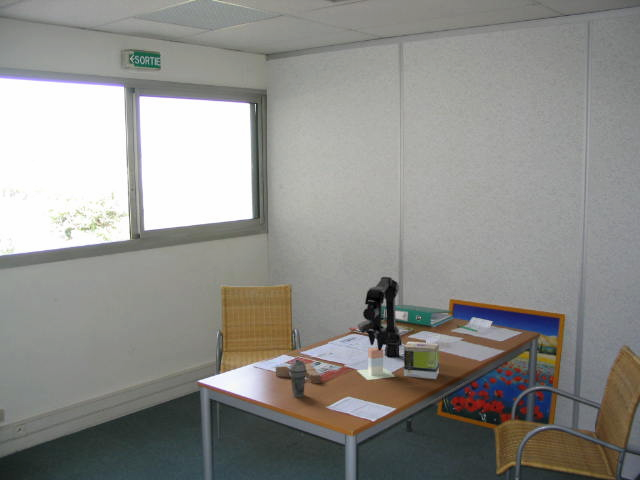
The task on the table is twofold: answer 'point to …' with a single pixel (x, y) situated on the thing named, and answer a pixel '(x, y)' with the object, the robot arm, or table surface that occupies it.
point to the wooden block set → (310, 374)
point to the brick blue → (375, 362)
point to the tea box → (421, 360)
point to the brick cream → (375, 370)
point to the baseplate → (370, 377)
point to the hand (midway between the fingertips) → (375, 347)
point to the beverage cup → (298, 377)
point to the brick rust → (375, 353)
